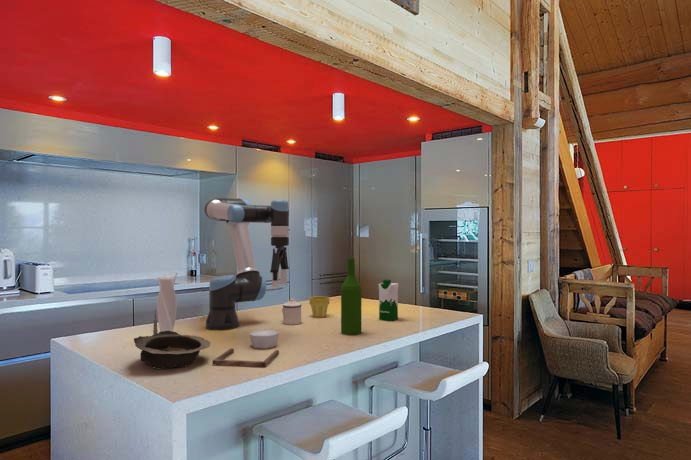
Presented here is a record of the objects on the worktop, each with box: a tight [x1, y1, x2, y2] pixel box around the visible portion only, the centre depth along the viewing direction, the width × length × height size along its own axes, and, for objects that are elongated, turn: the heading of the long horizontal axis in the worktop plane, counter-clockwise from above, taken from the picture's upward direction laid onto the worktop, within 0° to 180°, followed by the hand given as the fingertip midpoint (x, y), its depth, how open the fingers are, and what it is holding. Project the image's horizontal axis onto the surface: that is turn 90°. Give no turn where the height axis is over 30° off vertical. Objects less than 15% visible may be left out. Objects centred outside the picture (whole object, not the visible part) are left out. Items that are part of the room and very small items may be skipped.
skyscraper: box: [152, 271, 178, 335], centre depth 184 cm, size 8×8×28 cm
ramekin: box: [249, 329, 280, 350], centre depth 174 cm, size 11×11×5 cm
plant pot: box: [308, 295, 330, 318], centre depth 232 cm, size 10×10×10 cm
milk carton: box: [378, 279, 399, 322], centre depth 224 cm, size 9×9×20 cm
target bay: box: [212, 347, 280, 368], centre depth 156 cm, size 18×15×2 cm
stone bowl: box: [133, 330, 211, 369], centre depth 153 cm, size 25×25×9 cm
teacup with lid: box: [281, 298, 302, 326], centre depth 217 cm, size 12×9×12 cm
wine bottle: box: [340, 257, 362, 336], centre depth 196 cm, size 9×9×32 cm
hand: (279, 286), depth 190 cm, fingers open, 13 cm apart
